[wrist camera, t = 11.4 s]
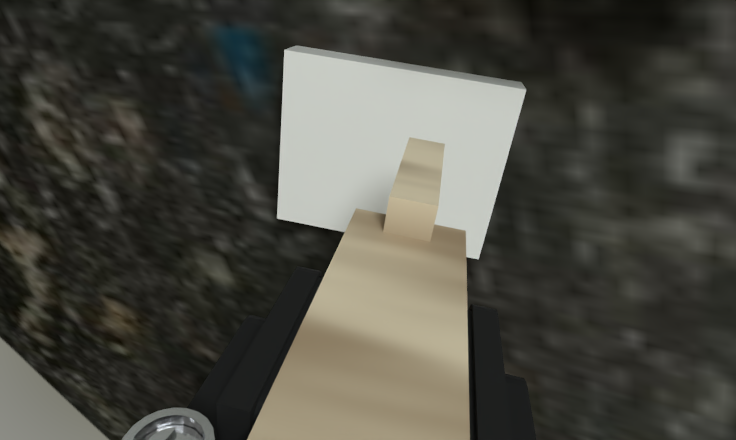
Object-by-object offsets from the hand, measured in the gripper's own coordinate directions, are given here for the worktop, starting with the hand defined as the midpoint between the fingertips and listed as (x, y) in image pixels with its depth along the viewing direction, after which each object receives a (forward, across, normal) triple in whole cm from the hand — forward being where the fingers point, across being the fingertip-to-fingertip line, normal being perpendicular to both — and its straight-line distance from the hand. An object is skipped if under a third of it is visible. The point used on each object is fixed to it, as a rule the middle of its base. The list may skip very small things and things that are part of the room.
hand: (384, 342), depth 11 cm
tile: (+13, -4, 0) cm, 13 cm away
